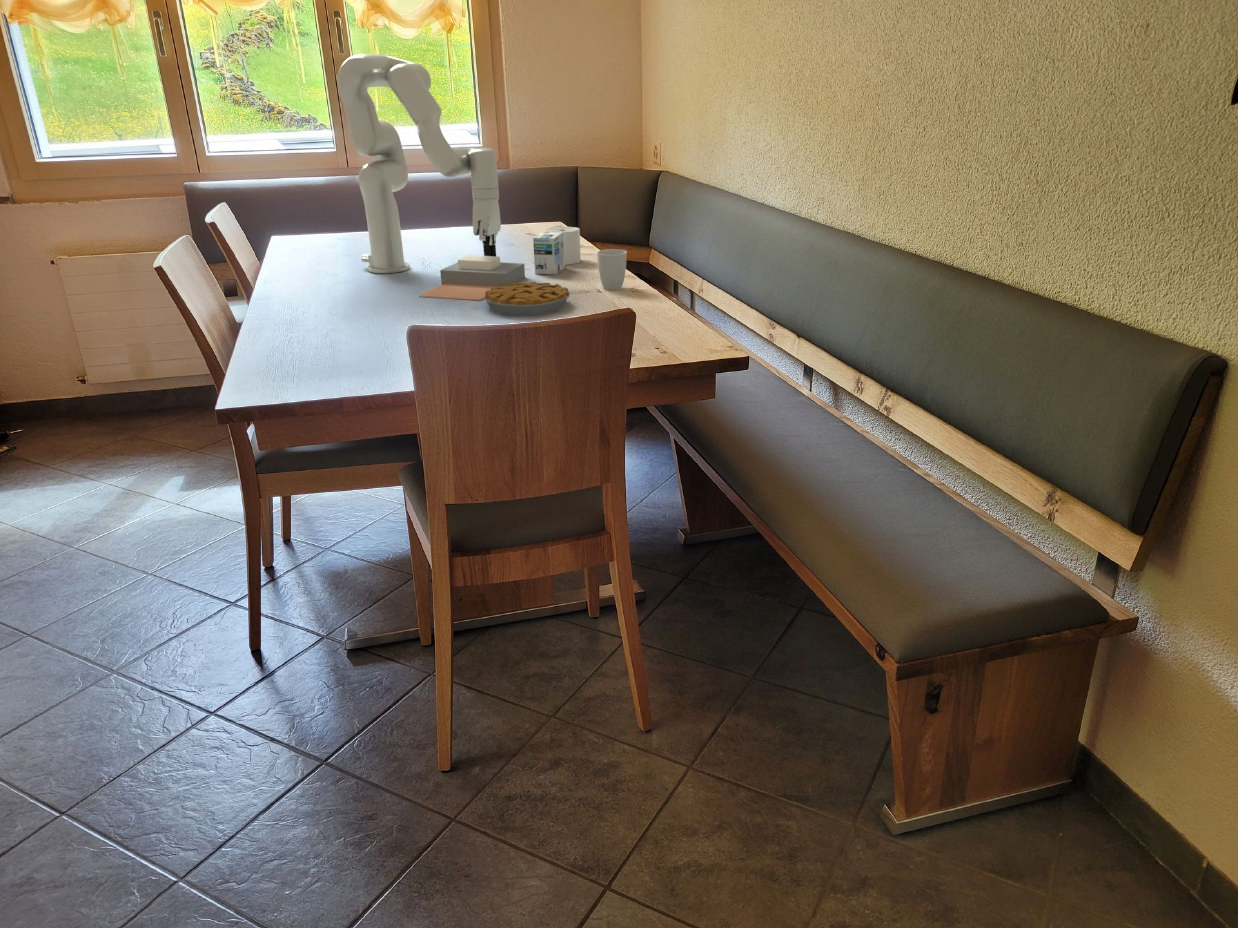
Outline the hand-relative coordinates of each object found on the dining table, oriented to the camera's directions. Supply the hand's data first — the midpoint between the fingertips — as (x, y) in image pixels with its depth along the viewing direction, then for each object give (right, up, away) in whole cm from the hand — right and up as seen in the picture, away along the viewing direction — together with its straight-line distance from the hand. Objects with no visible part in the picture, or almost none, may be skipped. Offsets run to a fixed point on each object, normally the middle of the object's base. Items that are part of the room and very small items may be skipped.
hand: (490, 258), depth 260 cm
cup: (+36, -12, -15) cm, 41 cm away
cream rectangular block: (-2, -3, -7) cm, 8 cm away
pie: (+14, -20, -32) cm, 41 cm away
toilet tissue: (+20, +3, +19) cm, 28 cm away
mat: (-5, -13, -18) cm, 23 cm away
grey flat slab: (-1, -8, -5) cm, 9 cm away
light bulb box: (+17, -3, +6) cm, 18 cm away
